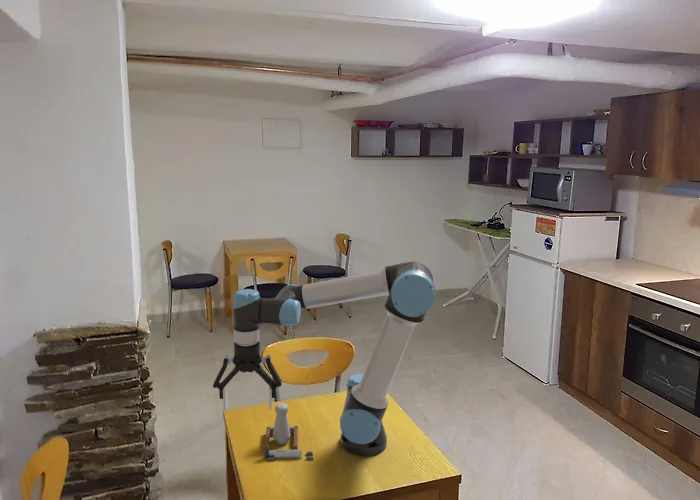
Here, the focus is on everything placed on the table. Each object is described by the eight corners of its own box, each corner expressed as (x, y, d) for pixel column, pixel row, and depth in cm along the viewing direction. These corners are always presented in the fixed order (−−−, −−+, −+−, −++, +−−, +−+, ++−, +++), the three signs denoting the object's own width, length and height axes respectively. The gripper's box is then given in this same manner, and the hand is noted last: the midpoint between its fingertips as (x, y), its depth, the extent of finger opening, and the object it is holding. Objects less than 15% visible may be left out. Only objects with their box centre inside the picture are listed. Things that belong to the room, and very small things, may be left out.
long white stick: (301, 455, 170) (301, 445, 169) (301, 457, 169) (301, 447, 168) (264, 456, 169) (264, 446, 168) (264, 458, 168) (264, 448, 167)
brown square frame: (312, 432, 183) (312, 425, 183) (312, 459, 168) (313, 452, 167) (266, 433, 182) (266, 426, 182) (263, 461, 167) (263, 453, 166)
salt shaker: (287, 447, 174) (287, 410, 172) (270, 445, 175) (270, 408, 173) (292, 438, 180) (292, 401, 177) (276, 435, 181) (276, 399, 178)
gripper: (289, 336, 165) (289, 401, 170) (206, 337, 163) (208, 402, 168) (288, 345, 158) (289, 412, 162) (201, 346, 156) (204, 414, 160)
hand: (248, 407), depth 165 cm, fingers open, 13 cm apart
